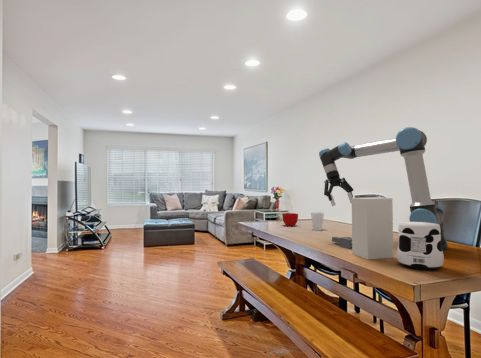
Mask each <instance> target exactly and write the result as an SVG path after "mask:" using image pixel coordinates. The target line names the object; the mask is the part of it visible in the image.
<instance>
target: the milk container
mask: <svg viewBox="0 0 481 358" xmlns="http://www.w3.org/2000/svg"><path fill="white" fill-rule="evenodd" d="M397 226H398V229H397V230H398V232H397V233H398V234H397V235H398V244H397V248H396V253H395V255H396V259H397V261H398V263H399V264H401V265H402V266H405V267H408V268H413V269H418V270H419V269H420V270H436V269H439V268H441V267H442V266H443V264H444V261H445V260H444V259H445V258H444V257H445V256H444V252H443V250H442V249H441V235H440V233H441V230H440V225H439V224H435V223H427V222H410V221H401V222H398V225H397Z"/></svg>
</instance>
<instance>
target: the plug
mask: <svg viewBox="0 0 481 358" xmlns="http://www.w3.org/2000/svg"><path fill="white" fill-rule="evenodd" d="M331 242H334V243H337V244H339V247H341V248H345V249H347V250H352V236H351V237H350V236H345V237H342V236H341V237H338V236H331Z"/></svg>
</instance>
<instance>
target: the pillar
mask: <svg viewBox="0 0 481 358" xmlns="http://www.w3.org/2000/svg"><path fill="white" fill-rule="evenodd" d="M393 209H394V208H393V198H390V197H375V196H374V197H353V198H352V203H351V238H352V249H351V250H352V251H351V255H355V256H357V257H359V258H363V259H365V260H377V259H378V260H380V259H381V260H382V259H390V258H391V259H392V258H394V218H393V217H394V216H393V215H394V214H393V213H394V212H393Z"/></svg>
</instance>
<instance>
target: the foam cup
mask: <svg viewBox="0 0 481 358" xmlns="http://www.w3.org/2000/svg"><path fill="white" fill-rule="evenodd" d="M310 216H311V221H312V222H311V224H312V230H313V231H323V224H324V217H325V214H324V212H321V211H320V212H319V211H316V212H315V211H313V212H310Z"/></svg>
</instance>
